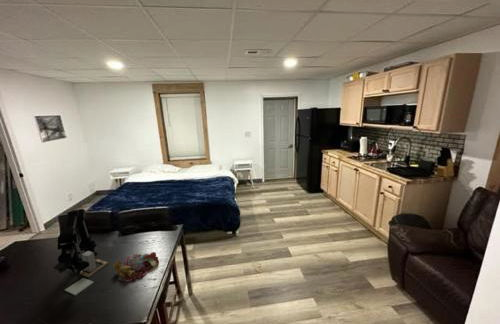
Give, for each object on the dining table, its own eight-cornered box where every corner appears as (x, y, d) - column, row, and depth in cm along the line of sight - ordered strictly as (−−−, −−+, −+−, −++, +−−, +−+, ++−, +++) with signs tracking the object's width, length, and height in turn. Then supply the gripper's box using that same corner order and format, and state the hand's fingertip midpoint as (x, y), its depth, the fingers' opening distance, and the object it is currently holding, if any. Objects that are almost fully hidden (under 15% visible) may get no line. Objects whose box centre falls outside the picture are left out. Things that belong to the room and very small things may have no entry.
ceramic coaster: (64, 290, 120) (64, 289, 120) (83, 278, 130) (83, 277, 129) (75, 295, 117) (75, 294, 117) (93, 282, 126) (93, 281, 126)
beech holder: (76, 272, 135) (76, 271, 134) (97, 260, 146) (96, 258, 146) (88, 277, 130) (87, 275, 130) (108, 264, 142) (108, 262, 142)
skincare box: (84, 270, 136) (80, 254, 134) (91, 266, 140) (87, 250, 138) (90, 272, 134) (86, 256, 132) (97, 268, 138) (93, 252, 136)
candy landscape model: (131, 287, 122) (129, 274, 120) (107, 275, 132) (105, 263, 130) (165, 261, 144) (163, 249, 142) (142, 252, 154) (140, 241, 152)
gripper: (44, 257, 114) (51, 281, 118) (64, 265, 108) (70, 290, 111) (67, 246, 124) (73, 268, 128) (87, 252, 118) (92, 276, 121)
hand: (77, 275), depth 122 cm, fingers closed
